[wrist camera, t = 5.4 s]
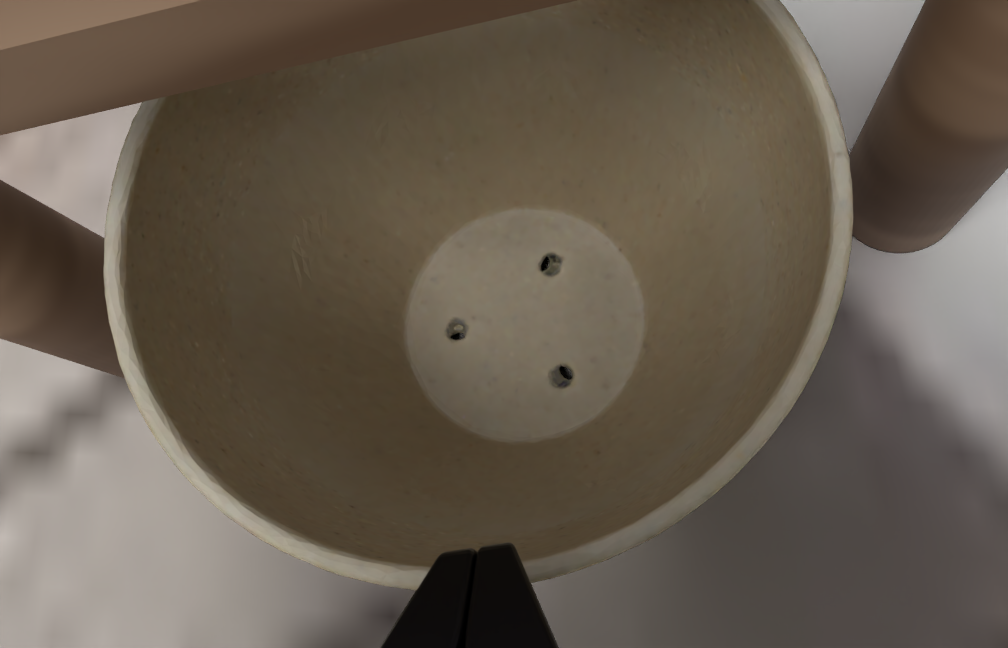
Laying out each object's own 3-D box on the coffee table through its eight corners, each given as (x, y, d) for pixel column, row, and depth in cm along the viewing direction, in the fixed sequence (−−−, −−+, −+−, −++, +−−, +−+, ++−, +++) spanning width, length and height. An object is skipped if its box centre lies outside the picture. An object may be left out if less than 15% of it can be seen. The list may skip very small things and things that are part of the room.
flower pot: (537, 686, 16) (448, 791, 9) (220, 343, 19) (-26, 231, 12) (881, 307, 17) (1039, 142, 10) (523, 34, 20) (452, -238, 13)
